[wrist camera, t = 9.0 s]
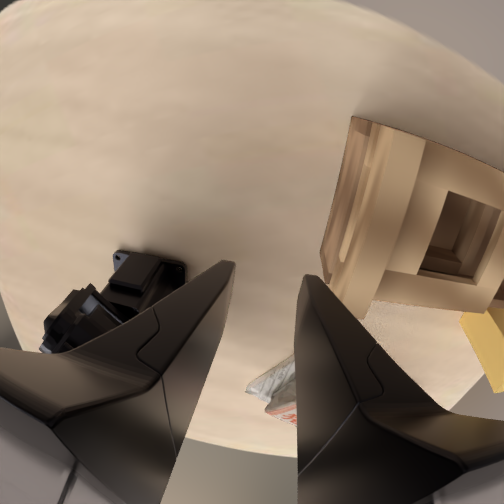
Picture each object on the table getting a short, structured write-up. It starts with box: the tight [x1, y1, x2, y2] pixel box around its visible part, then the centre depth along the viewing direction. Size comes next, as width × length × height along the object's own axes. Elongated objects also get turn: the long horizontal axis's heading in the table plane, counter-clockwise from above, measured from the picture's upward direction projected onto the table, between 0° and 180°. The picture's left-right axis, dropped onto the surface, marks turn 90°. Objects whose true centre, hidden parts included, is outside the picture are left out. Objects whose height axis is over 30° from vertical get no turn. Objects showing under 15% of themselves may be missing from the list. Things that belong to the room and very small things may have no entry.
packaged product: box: [245, 354, 297, 427], centre depth 29 cm, size 18×5×10 cm
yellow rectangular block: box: [459, 307, 504, 393], centre depth 19 cm, size 4×4×9 cm
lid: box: [329, 123, 504, 319], centre depth 14 cm, size 10×13×3 cm
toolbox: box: [320, 116, 504, 309], centre depth 17 cm, size 10×18×4 cm, turn 82°
